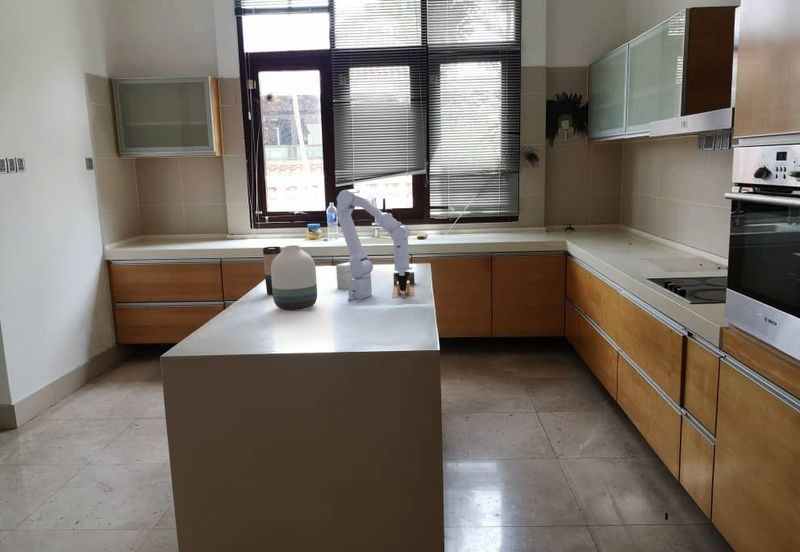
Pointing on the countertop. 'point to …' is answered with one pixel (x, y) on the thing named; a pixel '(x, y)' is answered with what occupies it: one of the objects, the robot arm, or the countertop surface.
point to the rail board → (404, 293)
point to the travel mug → (269, 265)
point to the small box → (343, 275)
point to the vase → (294, 279)
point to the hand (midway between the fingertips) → (403, 290)
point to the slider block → (406, 287)
